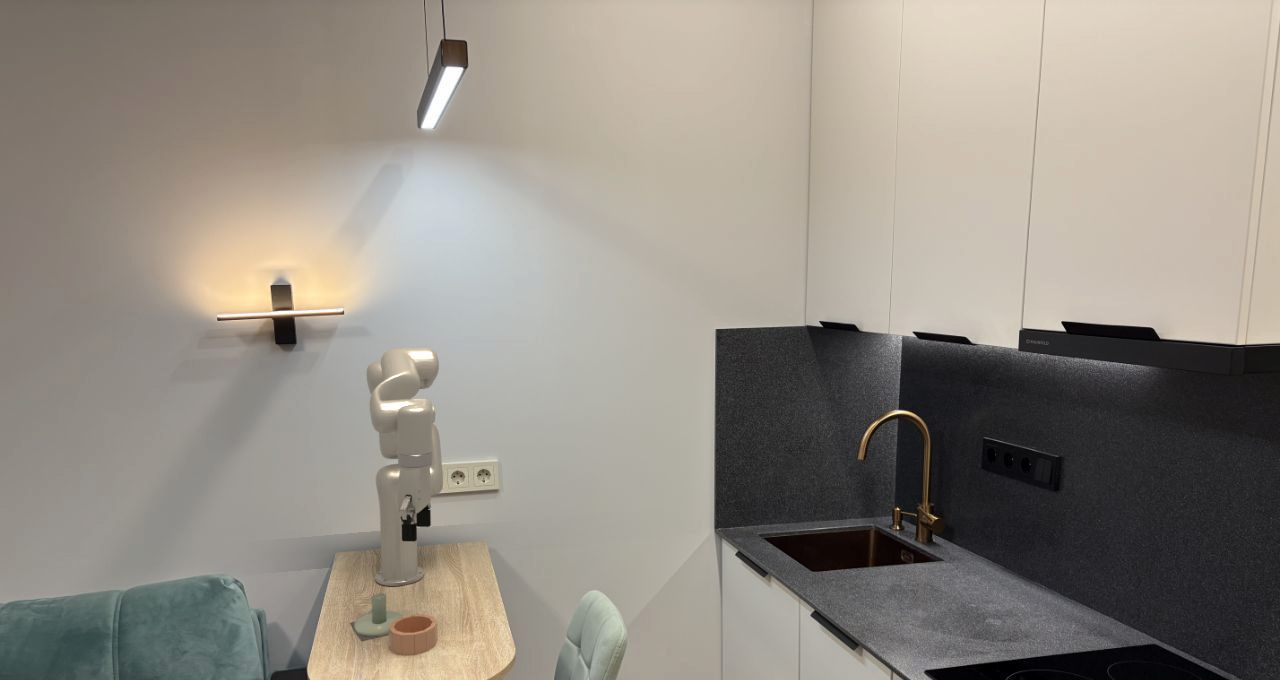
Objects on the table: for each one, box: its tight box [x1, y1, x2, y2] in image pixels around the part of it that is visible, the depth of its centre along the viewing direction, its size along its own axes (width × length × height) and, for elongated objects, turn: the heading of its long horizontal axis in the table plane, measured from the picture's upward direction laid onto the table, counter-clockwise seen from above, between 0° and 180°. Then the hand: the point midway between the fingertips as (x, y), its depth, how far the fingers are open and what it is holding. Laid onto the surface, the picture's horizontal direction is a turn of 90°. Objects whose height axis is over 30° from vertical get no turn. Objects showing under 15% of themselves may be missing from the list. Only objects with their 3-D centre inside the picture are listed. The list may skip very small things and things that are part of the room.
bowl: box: [388, 613, 438, 656], centre depth 173 cm, size 10×10×5 cm
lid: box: [354, 593, 404, 638], centre depth 181 cm, size 11×11×7 cm
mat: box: [349, 620, 389, 642], centre depth 181 cm, size 11×11×1 cm
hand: (416, 533), depth 176 cm, fingers open, 9 cm apart
